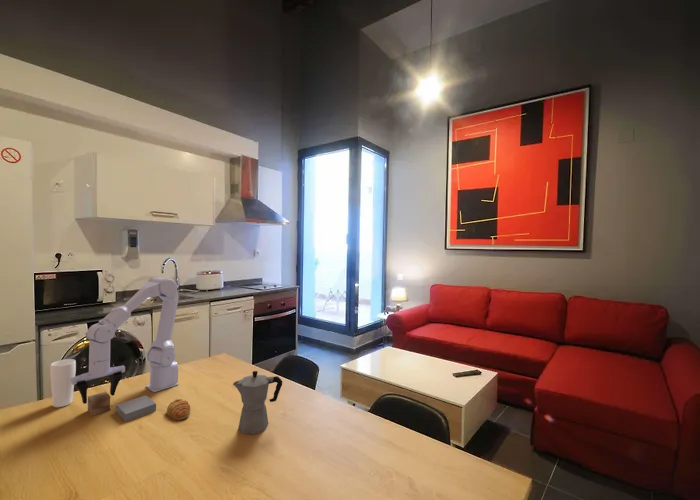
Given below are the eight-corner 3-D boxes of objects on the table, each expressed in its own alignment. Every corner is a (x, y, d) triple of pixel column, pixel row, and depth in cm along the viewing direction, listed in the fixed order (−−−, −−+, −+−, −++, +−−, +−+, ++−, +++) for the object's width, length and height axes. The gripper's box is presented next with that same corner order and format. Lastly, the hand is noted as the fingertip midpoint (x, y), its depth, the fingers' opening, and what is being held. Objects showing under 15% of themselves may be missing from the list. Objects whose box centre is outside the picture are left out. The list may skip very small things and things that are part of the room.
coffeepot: (230, 438, 96) (232, 379, 96) (232, 421, 105) (234, 367, 105) (282, 430, 101) (284, 374, 100) (280, 415, 110) (281, 363, 109)
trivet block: (145, 403, 116) (145, 395, 115) (156, 412, 110) (156, 403, 110) (116, 413, 108) (116, 404, 108) (125, 423, 103) (125, 414, 103)
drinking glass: (63, 409, 109) (63, 366, 109) (43, 408, 109) (44, 365, 109) (80, 400, 116) (81, 359, 115) (62, 399, 116) (62, 358, 115)
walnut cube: (105, 405, 113) (105, 391, 113) (110, 410, 110) (110, 396, 109) (87, 411, 109) (87, 396, 109) (91, 416, 106) (92, 401, 106)
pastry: (195, 416, 108) (195, 405, 107) (173, 424, 103) (173, 413, 103) (185, 406, 114) (185, 395, 114) (164, 413, 109) (164, 402, 109)
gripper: (120, 351, 117) (119, 387, 117) (69, 361, 106) (68, 402, 106) (127, 355, 113) (126, 393, 113) (74, 367, 101) (73, 409, 101)
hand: (98, 398), depth 109 cm, fingers open, 7 cm apart
